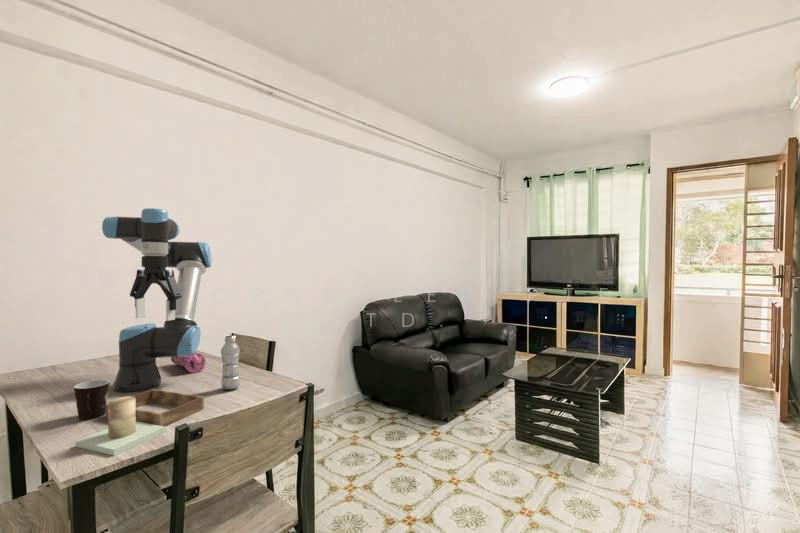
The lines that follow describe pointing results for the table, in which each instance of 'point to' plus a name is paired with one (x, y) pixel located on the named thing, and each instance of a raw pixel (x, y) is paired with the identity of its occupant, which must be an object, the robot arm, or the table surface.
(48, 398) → the table surface
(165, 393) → the walnut frame
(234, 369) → the plastic bottle
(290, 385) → the table surface
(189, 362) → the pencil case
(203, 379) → the table surface
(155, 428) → the mint green tile
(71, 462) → the table surface
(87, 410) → the coffee mug
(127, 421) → the light wood cylinder
